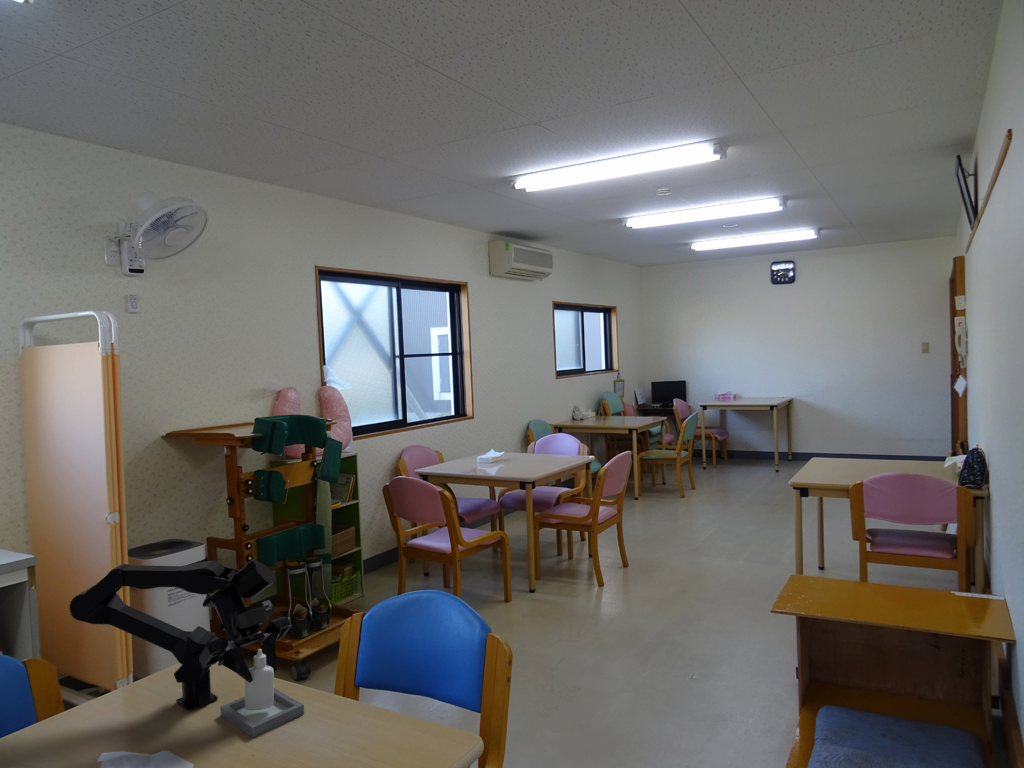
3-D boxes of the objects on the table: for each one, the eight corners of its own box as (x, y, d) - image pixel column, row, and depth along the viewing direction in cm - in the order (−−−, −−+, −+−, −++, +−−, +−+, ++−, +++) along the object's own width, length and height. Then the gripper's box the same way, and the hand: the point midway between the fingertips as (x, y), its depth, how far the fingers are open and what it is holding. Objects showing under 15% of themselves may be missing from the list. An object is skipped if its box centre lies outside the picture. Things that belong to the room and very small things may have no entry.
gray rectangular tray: (220, 715, 144) (220, 706, 144) (270, 694, 153) (270, 685, 153) (252, 737, 135) (252, 727, 135) (304, 714, 144) (303, 704, 144)
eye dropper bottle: (252, 700, 146) (253, 644, 146) (277, 703, 145) (277, 646, 145) (241, 710, 142) (241, 652, 142) (266, 712, 141) (266, 654, 141)
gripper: (204, 604, 138) (235, 673, 132) (285, 579, 153) (317, 640, 146) (186, 633, 143) (215, 701, 137) (266, 607, 158) (296, 667, 152)
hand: (263, 676), depth 143 cm, fingers closed on eye dropper bottle, 5 cm apart
